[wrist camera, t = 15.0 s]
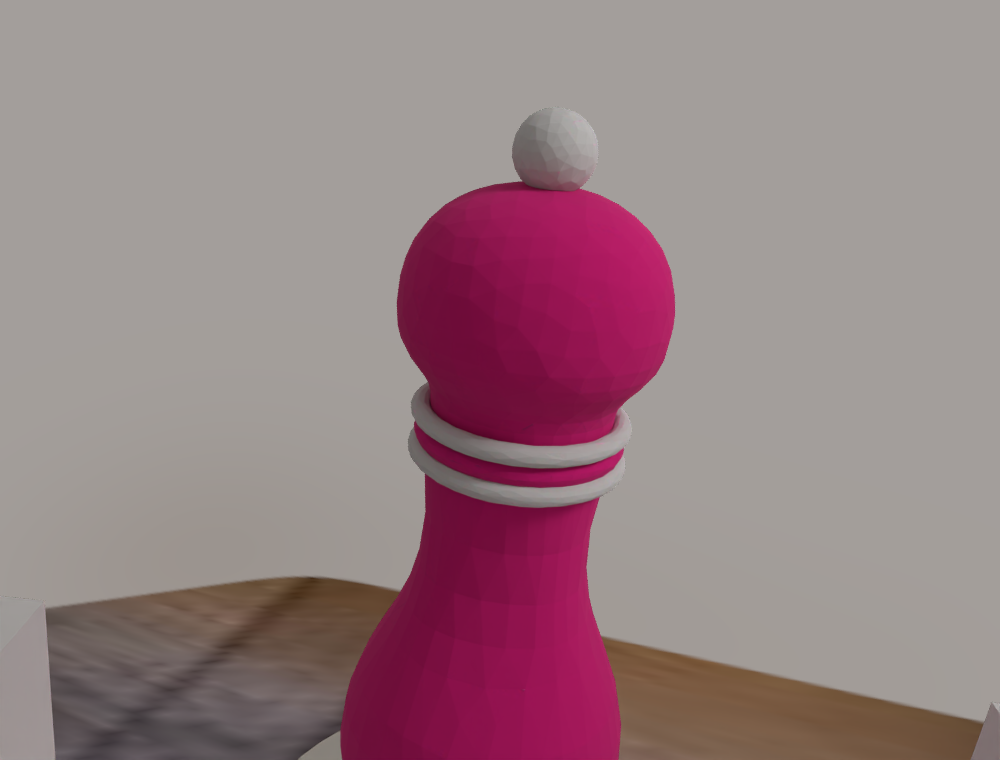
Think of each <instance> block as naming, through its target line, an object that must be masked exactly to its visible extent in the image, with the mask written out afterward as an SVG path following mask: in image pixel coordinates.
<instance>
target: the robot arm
mask: <svg viewBox="0 0 1000 760" xmlns="http://www.w3.org/2000/svg"><path fill="white" fill-rule="evenodd" d="M0 760H55V745H54V731H53V716H52V701H51V687H50V672H49V657H48V643H47V628H46V613H45V601H44V600H34V599H25V598H16V597H6V596H0ZM971 760H1000V703H995V702H992V703H991V706H990V708H989V711H988V714H987V717H986V719H985V722H984V725H983V728H982V730H981V733H980V736H979V739H978V741H977V744H976V747H975V750H974V752H973V755H972V758H971Z"/></svg>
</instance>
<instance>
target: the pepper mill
mask: <svg viewBox="0 0 1000 760" xmlns="http://www.w3.org/2000/svg"><path fill="white" fill-rule="evenodd" d="M512 158H513V162H514V166H515V169H516V171H517V173H518V175H519V177H520V179H521V180H522V182H512V183H503V184H495V185H491V186H487V187H483V188H479V189H476V190H473V191H471V192H468V193H466V194H464V195H461V196H459V197H458V198H456V199H454V200H453V201H451V202H449V203H447V204H445V205H444V206H443V207H442V208H441V209H440V210H439V211H438V212H437V213H435V214H434V215H433V216H432V217H431V218H430V219H429V220H428V221H427V223H426V224H425V225H424V226H423V228H422V229H421V230H420V232H419V233H418V234H417V236H416V237H415V238H414V240H413V242H412V244H411V247H410V249H409V251H408V253H407V255H406V258H405V261H404V265H403V268H402V271H401V274H400V281H399V289H398V297H397V318H398V327H399V332H400V336H401V339H402V341H403V343H404V344H405V347H406V349H407V351H408V353H409V354H410V357H411V358H412V360H413V361H414V362H415V364H416V365H417V366H418V368H419V369H420V370H421V372H422V373H423V374H424V376H425V377H426V379H427V381H428V382H427V383H426V384H424V385H423V386H421V387H420V388H419V389H418V390H417V391H416V393H415V395H414V396H413V398H412V401H411V409H412V415H413V417H414V418H415V422H414V428H413V429H412V430H411V432H410V436H409V439H408V449H409V452H410V456H411V458H412V459H413V461H414V462H415V463H416V464H417V466H418V467H419V468H420V469H421V470H422V471H423V472H424V473H425V503H426V504H425V508H426V512H425V519H424V525H423V530H422V536H421V542H420V549H419V551H418V554H417V557H416V560H415V563H414V565H413V568H412V571H411V574H410V576H409V578H408V579H407V581H406V583H405V585H404V586H403V588H402V590H401V592H400V593H399V595H398V597H397V598H396V600H395V601H394V602H393V604H392V605H391V607H390V608H389V609H388V611H387V612H386V614H385V615H384V617H383V618H382V619H381V621H380V623H379V624H378V626H377V628H376V629H375V631H374V632H373V634H372V636H371V637H370V639H369V641H368V643H367V645H366V647H365V649H364V651H363V653H362V655H361V658H360V660H359V662H358V664H357V666H356V668H355V671H354V673H353V675H352V677H351V680H350V684H349V688H348V692H347V695H346V701H345V707H344V712H343V718H342V724H341V730H340V747H341V755H342V760H618V759H619V745H620V732H621V720H620V713H619V706H618V698H617V691H616V684H615V679H614V676H613V673H612V669H611V666H610V663H609V660H608V657H607V653H606V650H605V647H604V644H603V641H602V638H601V635H600V632H599V630H598V627H597V624H596V621H595V618H594V615H593V611H592V607H591V603H590V599H589V592H588V580H587V569H586V565H587V556H588V547H589V537H590V528H591V525H592V521H593V518H594V514H595V511H596V508H597V504H598V501H599V498H600V497H601V496H603V495H604V494H606V493H608V492H609V491H611V490H612V489H613V488H614V487H615V486H616V485H617V484H618V483H619V482H620V481H621V479H622V478H623V475H624V472H625V465H626V464H625V459H624V456H623V451H624V447H625V446H626V445H627V443H628V441H629V439H630V436H631V433H632V426H631V422H630V420H629V417H628V415H627V414H626V412H625V411H624V410H623V408H622V407H621V406H622V405H623V404H624V403H625V402H626V401H627V400H628V399H629V398H630V397H632V396H633V395H634V394H636V393H637V392H638V391H640V390H641V389H642V388H643V386H645V385H646V384H647V383H648V382H649V381H650V380H651V379H652V378H653V377H654V376H655V375H656V373H657V372H658V370H659V368H660V366H661V365H662V363H663V361H664V359H665V355H666V352H667V348H668V345H669V341H670V338H671V334H672V330H673V325H674V317H675V295H674V288H673V282H672V275H671V270H670V267H669V265H668V262H667V260H666V257H665V255H664V252H663V250H662V248H661V247H660V245H659V244H658V242H657V241H656V239H655V238H654V236H653V235H652V234H651V232H650V231H649V230H648V229H647V228H646V227H645V226H644V225H643V224H642V223H641V222H640V221H639V220H638V219H637V218H636V217H635V216H634V215H632V214H631V213H629V212H628V211H627V210H625V209H624V208H623V207H621V206H620V205H619V204H617V203H615V202H613V201H610V200H609V199H607V198H604V197H603V196H601V195H598V194H595V193H592V192H589V191H586V190H582V189H579V188H580V187H581V186H583V184H584V183H586V181H587V180H588V179H589V178H590V176H591V175H592V174H593V172H594V169H595V167H596V165H597V161H598V142H597V138H596V135H595V132H594V131H593V129H592V128H591V126H590V124H589V123H588V122H587V121H586V120H585V118H584V117H582V116H581V115H579V114H578V113H577V112H574V111H572V110H568V109H564V108H560V107H555V108H546V109H542V110H540V111H538V112H536V113H534V114H532V115H531V116H529V117H528V118H527V119H526V120H525V121H524V122H523V123H522V125H521V126H520V128H519V130H518V131H517V133H516V135H515V139H514V143H513V148H512Z"/></svg>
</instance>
